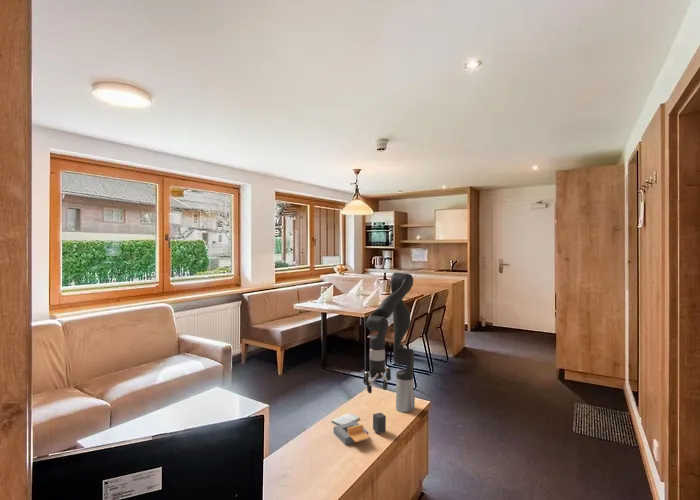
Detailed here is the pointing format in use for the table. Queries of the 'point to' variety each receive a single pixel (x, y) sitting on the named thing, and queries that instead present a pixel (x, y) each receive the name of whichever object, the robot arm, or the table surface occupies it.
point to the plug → (379, 422)
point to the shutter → (358, 433)
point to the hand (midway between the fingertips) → (377, 391)
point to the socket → (345, 432)
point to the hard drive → (345, 419)
